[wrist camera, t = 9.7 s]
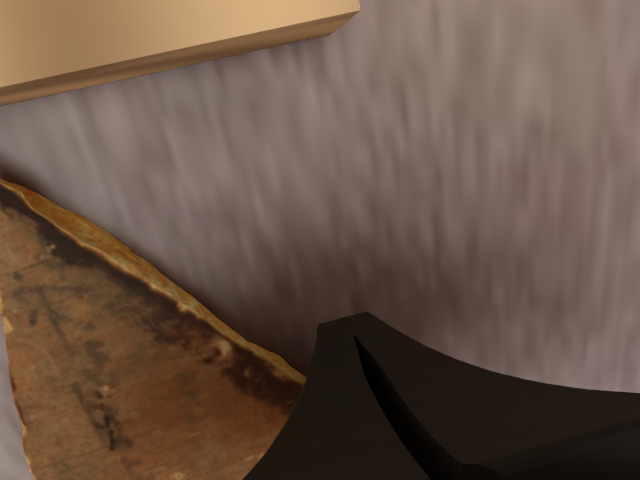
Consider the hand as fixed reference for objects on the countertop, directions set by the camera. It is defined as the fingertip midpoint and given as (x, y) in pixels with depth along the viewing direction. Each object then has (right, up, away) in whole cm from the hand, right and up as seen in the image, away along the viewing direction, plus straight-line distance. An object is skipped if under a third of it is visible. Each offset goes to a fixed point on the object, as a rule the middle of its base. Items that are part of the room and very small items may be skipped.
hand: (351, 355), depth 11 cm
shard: (-5, -2, +1) cm, 6 cm away
